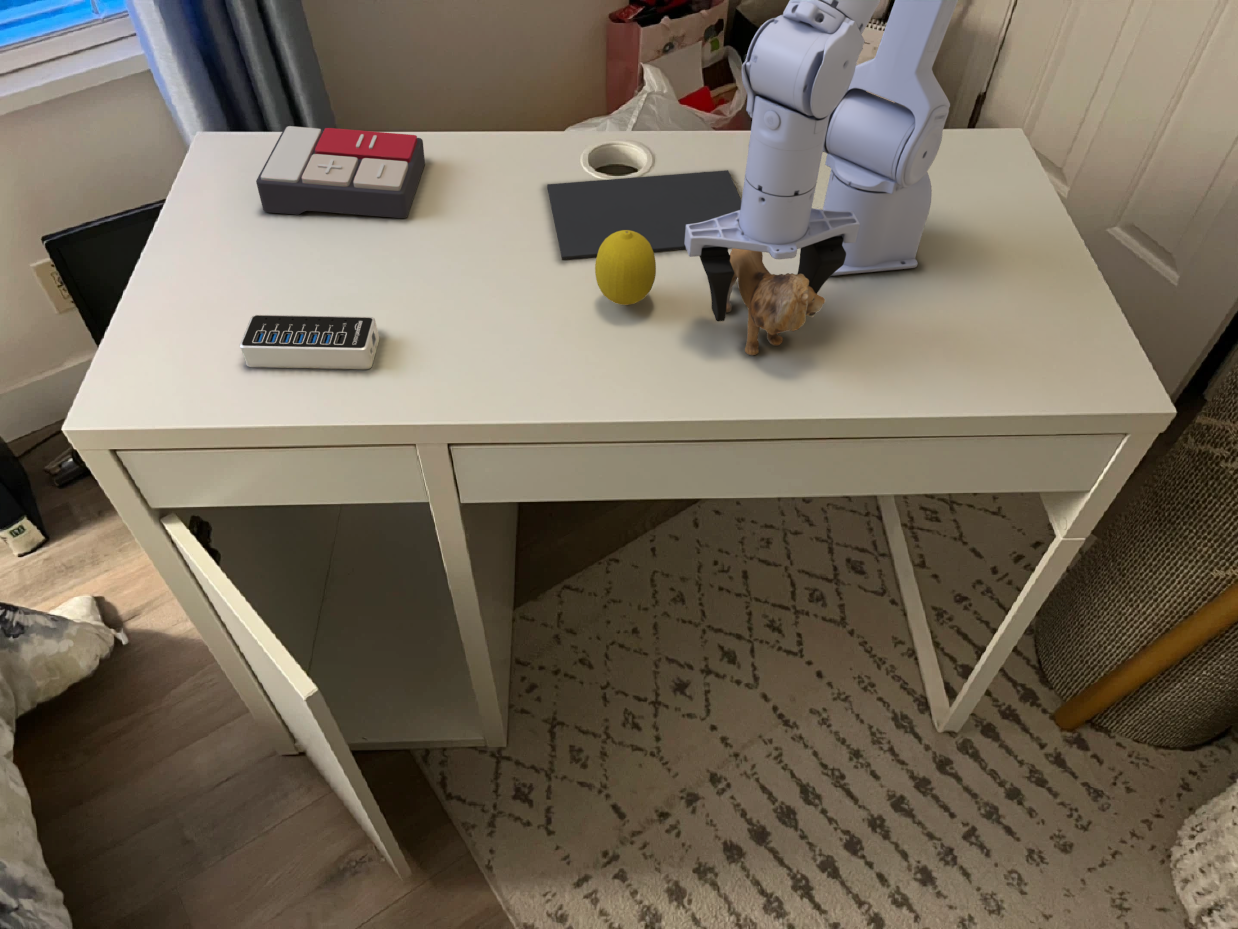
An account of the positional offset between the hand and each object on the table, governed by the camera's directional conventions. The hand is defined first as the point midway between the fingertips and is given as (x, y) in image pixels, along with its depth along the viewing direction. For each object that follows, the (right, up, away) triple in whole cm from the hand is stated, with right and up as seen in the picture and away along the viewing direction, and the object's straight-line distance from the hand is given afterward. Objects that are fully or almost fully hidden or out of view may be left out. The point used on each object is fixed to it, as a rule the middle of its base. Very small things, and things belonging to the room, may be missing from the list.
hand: (759, 310), depth 85 cm
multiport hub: (-40, -4, -2) cm, 40 cm away
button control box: (-42, +16, +16) cm, 47 cm away
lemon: (-12, +1, +3) cm, 13 cm away
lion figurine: (0, -1, +2) cm, 2 cm away
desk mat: (-9, +12, +13) cm, 20 cm away
